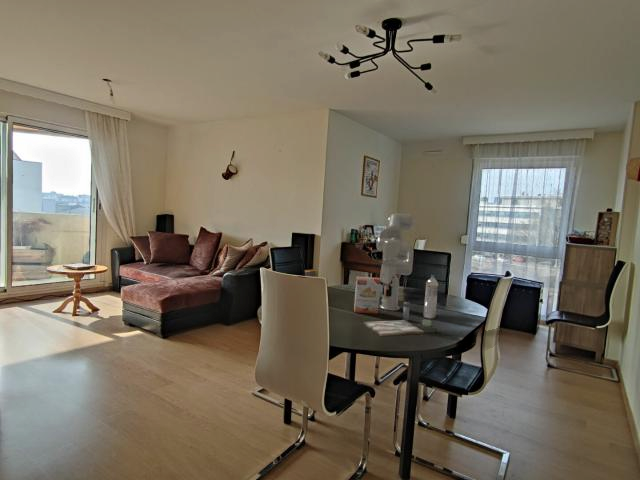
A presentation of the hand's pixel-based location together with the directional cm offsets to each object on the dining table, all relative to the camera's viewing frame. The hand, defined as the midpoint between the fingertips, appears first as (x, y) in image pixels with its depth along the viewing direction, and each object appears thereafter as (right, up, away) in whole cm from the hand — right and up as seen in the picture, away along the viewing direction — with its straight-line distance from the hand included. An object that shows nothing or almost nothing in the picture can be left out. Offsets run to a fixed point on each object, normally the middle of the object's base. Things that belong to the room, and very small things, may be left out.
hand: (386, 295), depth 206 cm
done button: (+18, -15, -12) cm, 27 cm away
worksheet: (+1, -15, -13) cm, 20 cm away
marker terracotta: (0, -2, 0) cm, 2 cm away
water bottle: (+27, -15, +13) cm, 34 cm away
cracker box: (-10, -13, +16) cm, 23 cm away
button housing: (+18, -16, -12) cm, 27 cm away
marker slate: (+11, -15, +5) cm, 19 cm away
